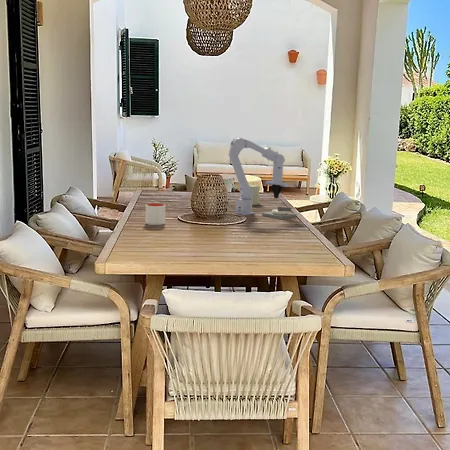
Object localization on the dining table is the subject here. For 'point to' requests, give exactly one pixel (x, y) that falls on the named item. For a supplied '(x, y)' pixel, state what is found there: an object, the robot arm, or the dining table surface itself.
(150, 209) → the cup
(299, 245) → the dining table surface
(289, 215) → the dial plate
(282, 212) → the dial
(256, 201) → the can
